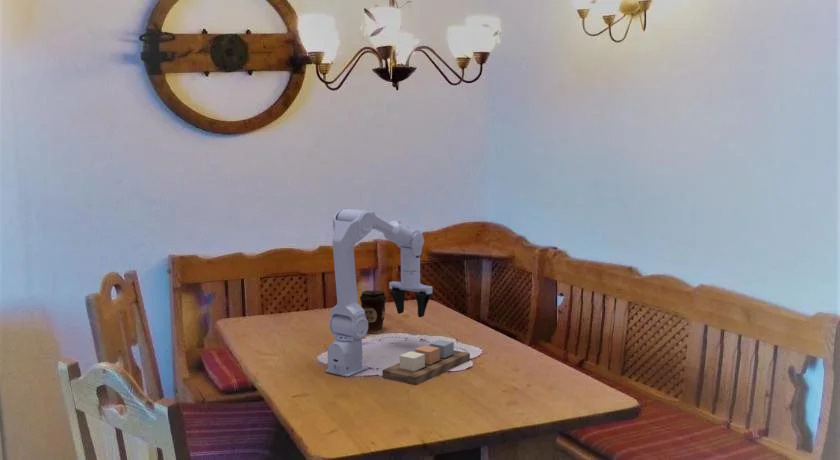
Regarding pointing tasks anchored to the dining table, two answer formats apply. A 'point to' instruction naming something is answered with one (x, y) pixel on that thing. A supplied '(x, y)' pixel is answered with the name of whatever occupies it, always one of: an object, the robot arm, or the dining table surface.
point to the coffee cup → (374, 309)
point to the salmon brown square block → (429, 353)
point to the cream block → (412, 361)
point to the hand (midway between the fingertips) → (410, 314)
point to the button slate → (444, 347)
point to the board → (425, 369)
